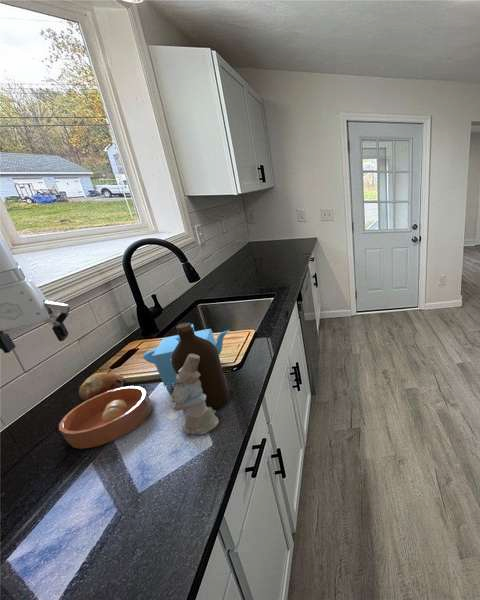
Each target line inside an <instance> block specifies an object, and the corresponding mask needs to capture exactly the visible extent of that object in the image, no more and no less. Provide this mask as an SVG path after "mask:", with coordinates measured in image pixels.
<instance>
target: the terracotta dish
mask: <svg viewBox="0 0 480 600" xmlns="http://www.w3.org/2000/svg"><path fill="white" fill-rule="evenodd" d="M114 400H123V401H125V402H126V403H127V406H128V407H127V411H126V413H125V414H123V415H121V416H120V417H118V418H116V419H115V420H112V421H110V422H108V423H106V424H105V423H103V421H102V419H101V417H102V414H103V412H104V410H105V408H106V406H107V405H108V404H109V403H110V402H112V401H114ZM152 411H153V403H152V402H151V400H150V397H149V395H148V393H147V390H146V389H145V388H143V387H141V386H138V385H137V386H136V385H135V386H134V385H130V386H129V385H128V386H122V388H118V389H114V390H111V391H107V392H105V393H102V394H100V395H97V396H95V397H93V398H91V399H89V400H87V401H83V402H82V403H80V404H79V405H77V406H75V407H74V408H72V409H71V410H69V412H67V413H66V414H65V415H64V416H63V417H62V419H61V420H60V422H59V424H58V430H59V432H60V434H61V435H62V437H63V438H64V440H65V441H66V443H67V444H68V445H69V446H70V447H72V448H73V449H79V450H80V449H90V448H95V447H99V446H102V445H105V444H107V443H111V442H112V441H113V442H114V441H115V440H117V439H119V438H122V437H123V436H126V434H128V433H131V432H132V431H133V430H135V429H136V428H138V426H140V425H141V424H143V423H144V421H145V420H146V419H148V417H149V416H150V415H151V413H152Z"/></svg>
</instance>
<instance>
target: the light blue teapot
mask: <svg viewBox="0 0 480 600" xmlns="http://www.w3.org/2000/svg"><path fill="white" fill-rule="evenodd" d="M191 327H192V328H193V330H194V334H195V335H196V336H198V337H201V338H204V339H206V340H209V341H210V342H212V343H213V344H214V346H215V347H216V349H217V351H218V355H219V358H220V357H221V352H222V350H223V347H224V346H223V345H224V344H223V343H224V342H223V341H224V337H225V336H226V335H227V334H228V333H230V332H231V329H228V330H224V331H221V332H219V333H218V334H217V338H216V339H215V336H214V334H213V330H212V328H207V329H200V330H196V331H195V328H194V327H195V326H194V324H193V323H191ZM179 342H180V337H179V335H178V334H175V335H171V336H165V337H162V340H161V341H160V342H159V344H158V346H157V347H156V348H153V349H151V350H150V349H149V350H148V351H146V352H145V353H143V355H142V357H143V360H145V361H146V362H148V363H150V364H154V366H155V368H156V370H157V372H158V374H159V377H160V379H161V381H162V383H163V385H164V386H168V385H173V384H174V385H175V387H176V386H177V385H179V384H181V383H178V382H177V381H176V377H177V374H176V372H175V370H174V368H173V366H172V363H171V357H172V353H173V351H174V349H175V348H176V346H177V345H178V343H179Z"/></svg>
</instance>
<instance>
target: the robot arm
mask: <svg viewBox="0 0 480 600" xmlns="http://www.w3.org/2000/svg"><path fill="white" fill-rule="evenodd" d="M70 308H71V305H70V304H68V303H61V302H55V301H49V300H48V299H47V297H46V296H45V294H44V292H42V291H41V290H40V288H39V287H38V286H37V284H35V283H34V282H33V280H32V279H29V278H28V279H27V277H26V276H25V273H24V272H23V269H22V268H21V266H20V265H19V263H18V261H17V259H16V258H15V256H14V254H13V253H12V251H11V248H10V247H9V245H8V243H7V241H6V240H5V238H4V236H3V234H2V232H1V231H0V350H1V351H3V353H4V354H8V353H10V352H11V351H13V350H14V349H15V348H16V345H15V343H14V341H13V340H12V338H11V336H10V335H9V334H8V333H7V332H5V331H6V330H12V329H17V328H18V329H19V328H23V327H28V326H33V325H38V324H41V323H47V324H49V325H52V327H51V329H52V331H53V334H54V335H55V337H56V338H57V340H58V341H59V342H64V341H65V340H66V339H67V338H68V336H69V331H68V328H67V327H66V325H65V323H64V322H65V320H66V318H68V316H70V315H69V312H70ZM54 310H57V311H58V310H59V312H60V313H59V315H56V314H54V313H55V311H54Z"/></svg>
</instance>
